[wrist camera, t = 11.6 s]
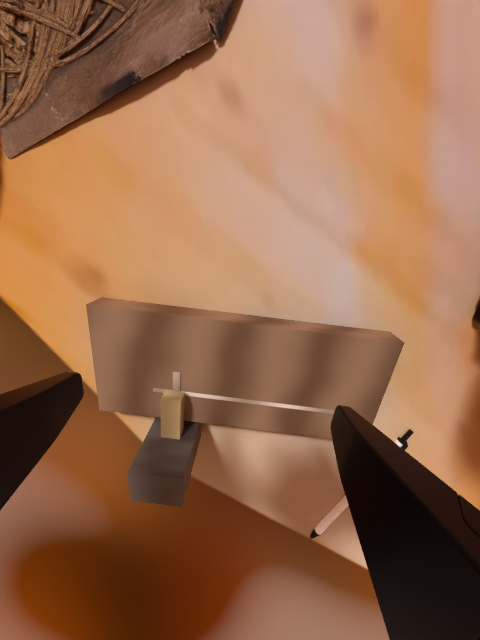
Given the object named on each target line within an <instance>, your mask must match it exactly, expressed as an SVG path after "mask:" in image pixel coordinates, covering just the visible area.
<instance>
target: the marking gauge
mask: <svg viewBox="0 0 480 640" xmlns="http://www.w3.org/2000/svg"><path fill="white" fill-rule="evenodd" d="M184 401H185V392H178V391H170V390H165V392H164V394H163V396H162V398H161V399H160V404H161V418H159V417H156V419H155V420H154V422H153V424H152V426H151V428H150V430H149V432H148V434H147V436H146V438H145V440H144V442H143V444H142V446H141V448H140V450H139V451H138V453H137V455H136V457H135V459H134V461H133V463H132V465H131V467H130V469H129V471H128V481H129V494H130V500H134V501H141V502H149V503H157V504H164V505H171V506H179V507H182V506H183V502H184V498H185V494H186V491H187V486H188V483H189V479H190V475H191V471H192V467H193V463H194V459H195V456H196V452H197V448H198V444H199V440H200V436H201V423H199V422H191V421H184Z"/></svg>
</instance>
